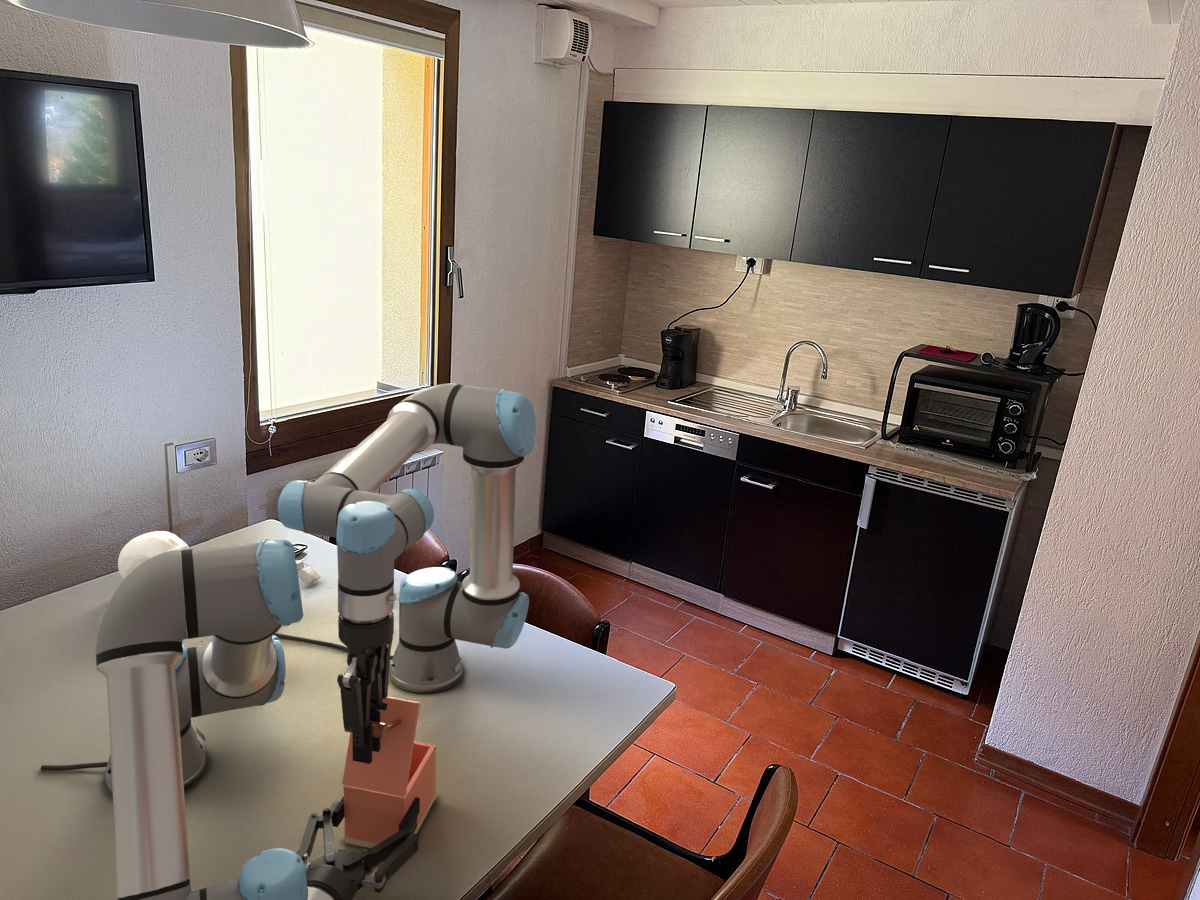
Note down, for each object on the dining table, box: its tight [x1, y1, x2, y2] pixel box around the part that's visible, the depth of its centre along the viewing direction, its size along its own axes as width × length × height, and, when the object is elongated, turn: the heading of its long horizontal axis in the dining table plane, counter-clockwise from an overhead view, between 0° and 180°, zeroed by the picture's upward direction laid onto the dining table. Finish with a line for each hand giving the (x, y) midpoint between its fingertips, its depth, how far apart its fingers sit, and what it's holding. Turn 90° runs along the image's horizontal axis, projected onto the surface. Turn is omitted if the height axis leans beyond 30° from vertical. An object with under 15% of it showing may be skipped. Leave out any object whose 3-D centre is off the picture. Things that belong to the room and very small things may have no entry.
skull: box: [117, 530, 191, 602], centre depth 203 cm, size 13×22×16 cm, turn 73°
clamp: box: [296, 559, 322, 587], centre depth 219 cm, size 20×4×7 cm, turn 62°
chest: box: [342, 740, 437, 849], centre depth 139 cm, size 13×10×11 cm
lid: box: [341, 696, 421, 796], centre depth 128 cm, size 14×10×9 cm
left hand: (385, 798), depth 136 cm, fingers closed on chest, 10 cm apart
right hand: (366, 754), depth 126 cm, fingers closed on lid, 2 cm apart
